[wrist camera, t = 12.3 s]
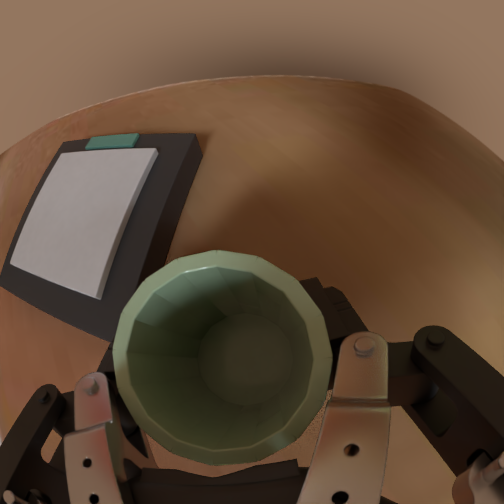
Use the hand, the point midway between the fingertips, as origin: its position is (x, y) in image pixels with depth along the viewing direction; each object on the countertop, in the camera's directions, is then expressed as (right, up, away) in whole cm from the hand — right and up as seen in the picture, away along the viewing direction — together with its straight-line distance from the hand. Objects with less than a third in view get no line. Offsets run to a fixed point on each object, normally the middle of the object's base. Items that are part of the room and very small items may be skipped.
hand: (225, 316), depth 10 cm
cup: (+1, -3, +3) cm, 5 cm away
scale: (-11, +4, +7) cm, 14 cm away
